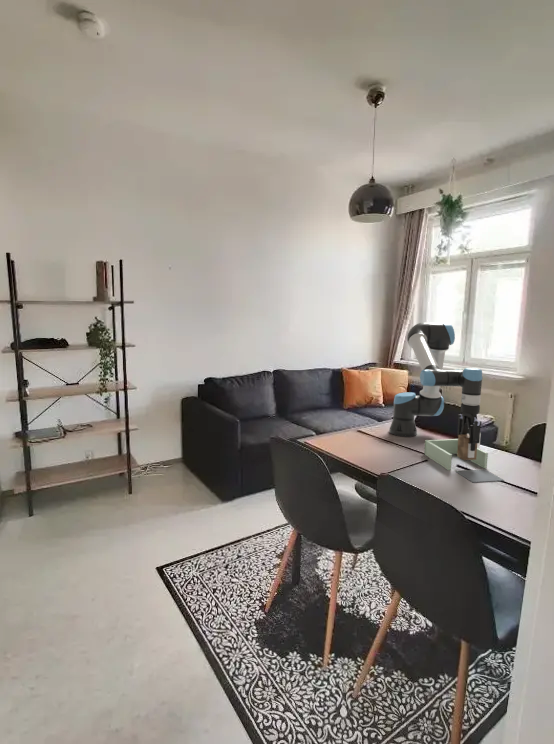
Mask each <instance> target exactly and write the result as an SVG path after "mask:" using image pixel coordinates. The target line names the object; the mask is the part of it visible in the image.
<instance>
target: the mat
mask: <svg viewBox="0 0 554 744" xmlns="http://www.w3.org/2000/svg"><path fill="white" fill-rule="evenodd" d="M455 472H456V473H457V474H458V475H460V476H461V477H463V478H465V479H466V480H468V481H469V482H471V483H476V484H477V483H490V482H491V483H493V482H494V483H495V482H505V479H503V478H501V477H499V476H498V475H496V474H494V473H493V472H490V471H489V470H487V468H483V469H467V470H466V469H464V470H463V469H462V470H455Z"/></svg>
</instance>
